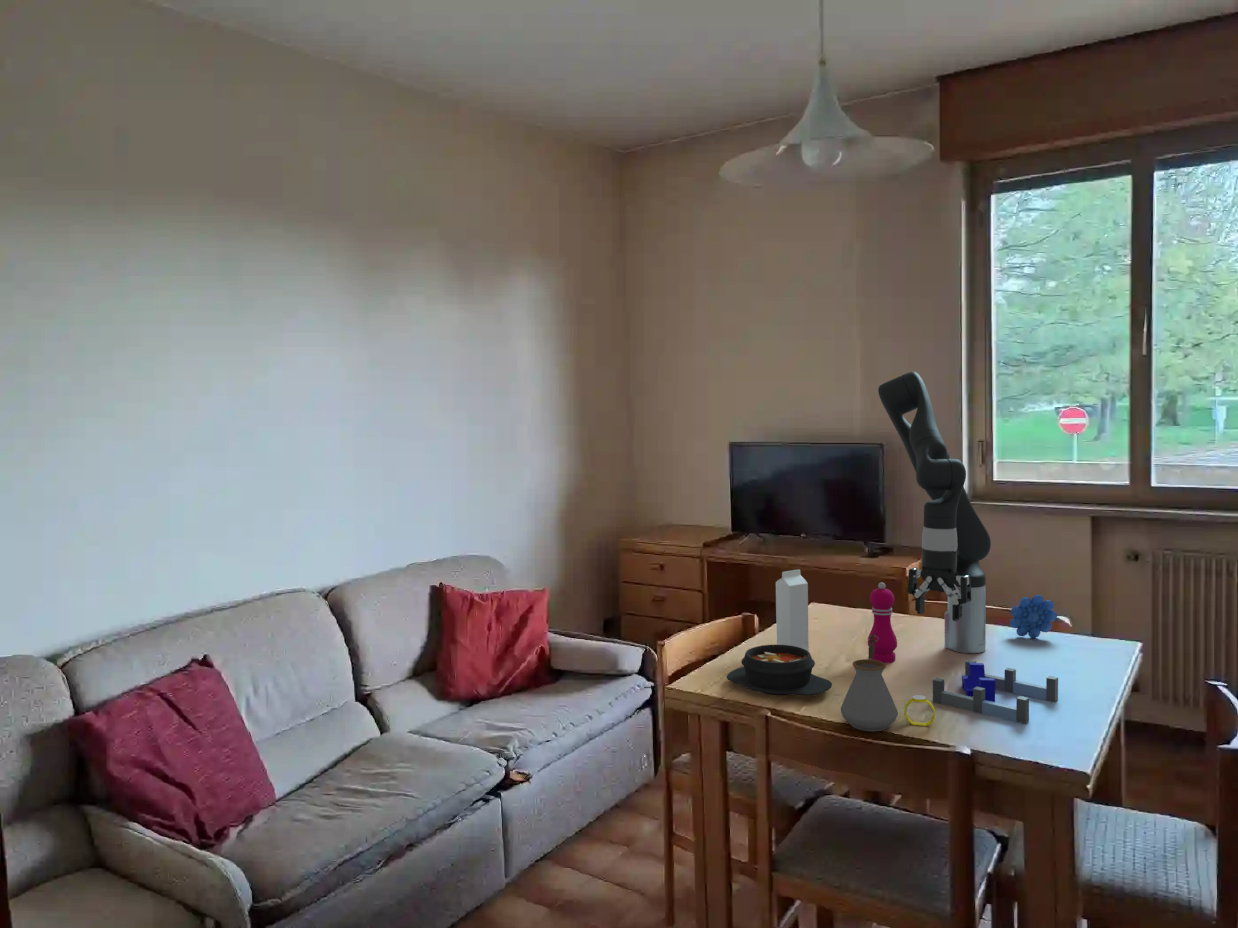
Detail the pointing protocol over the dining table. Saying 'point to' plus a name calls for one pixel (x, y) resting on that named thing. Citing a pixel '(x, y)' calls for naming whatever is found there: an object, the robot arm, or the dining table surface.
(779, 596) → the milk
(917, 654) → the dining table surface
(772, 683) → the casserole
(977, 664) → the blue curved block
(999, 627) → the dining table surface
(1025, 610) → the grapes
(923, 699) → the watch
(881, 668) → the coffee pot
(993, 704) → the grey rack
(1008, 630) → the dining table surface
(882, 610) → the pepper mill
